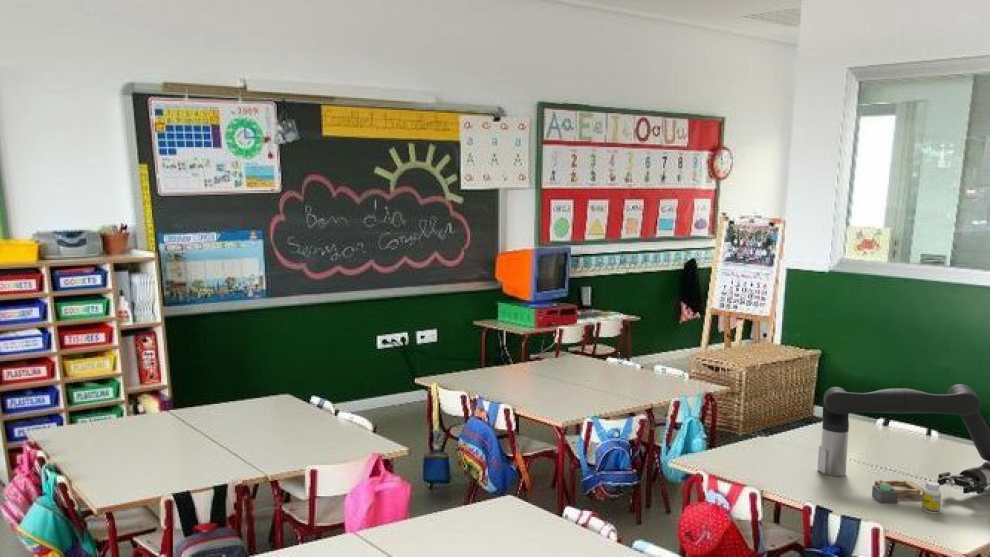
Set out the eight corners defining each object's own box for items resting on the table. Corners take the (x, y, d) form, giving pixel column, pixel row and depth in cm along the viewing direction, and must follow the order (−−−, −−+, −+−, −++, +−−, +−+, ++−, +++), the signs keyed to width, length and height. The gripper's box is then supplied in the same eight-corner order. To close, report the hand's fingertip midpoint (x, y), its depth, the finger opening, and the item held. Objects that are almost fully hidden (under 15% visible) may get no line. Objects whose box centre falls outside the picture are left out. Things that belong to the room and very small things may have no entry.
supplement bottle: (918, 507, 256) (920, 479, 255) (934, 507, 256) (936, 480, 255) (926, 513, 250) (929, 485, 250) (943, 514, 250) (945, 486, 249)
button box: (880, 503, 259) (881, 492, 259) (871, 496, 265) (872, 485, 265) (897, 503, 259) (898, 492, 259) (888, 496, 265) (889, 485, 265)
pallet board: (893, 498, 264) (894, 490, 263) (874, 484, 276) (875, 476, 276) (932, 499, 264) (933, 490, 263) (912, 485, 277) (912, 477, 276)
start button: (882, 495, 260) (883, 486, 260) (877, 491, 264) (877, 483, 263) (892, 495, 260) (893, 486, 260) (887, 491, 264) (888, 483, 263)
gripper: (996, 495, 261) (972, 503, 253) (954, 482, 273) (929, 489, 265) (998, 474, 260) (973, 482, 252) (956, 462, 272) (931, 469, 264)
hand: (951, 486), depth 258 cm, fingers open, 8 cm apart
